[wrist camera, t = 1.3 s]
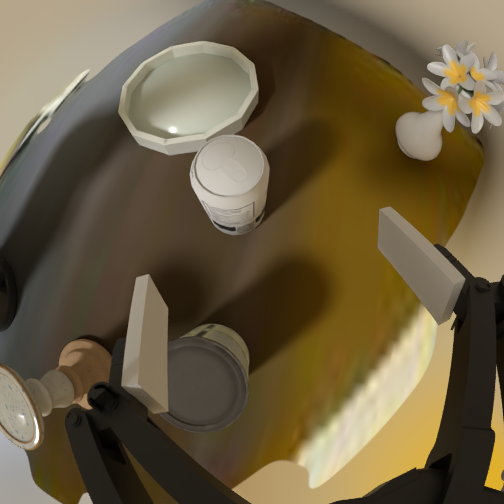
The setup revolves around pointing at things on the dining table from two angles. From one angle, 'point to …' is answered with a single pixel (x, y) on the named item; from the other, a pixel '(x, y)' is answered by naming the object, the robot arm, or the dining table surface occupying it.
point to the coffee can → (206, 379)
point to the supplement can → (231, 182)
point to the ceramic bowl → (189, 97)
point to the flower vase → (452, 101)
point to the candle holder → (49, 391)
